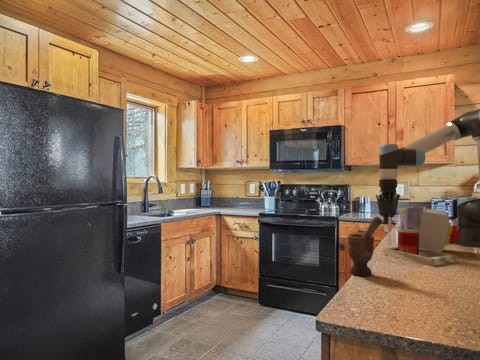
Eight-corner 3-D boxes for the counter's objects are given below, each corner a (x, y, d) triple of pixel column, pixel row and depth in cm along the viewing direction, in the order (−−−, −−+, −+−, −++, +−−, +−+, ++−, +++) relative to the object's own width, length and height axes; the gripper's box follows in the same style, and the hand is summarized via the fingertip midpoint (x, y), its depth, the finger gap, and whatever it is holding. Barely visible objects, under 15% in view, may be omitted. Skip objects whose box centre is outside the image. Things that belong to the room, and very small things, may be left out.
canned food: (422, 258, 142) (422, 231, 142) (401, 257, 143) (401, 231, 143) (415, 254, 149) (414, 228, 149) (395, 254, 150) (395, 228, 150)
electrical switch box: (454, 261, 145) (463, 214, 144) (415, 252, 153) (422, 207, 151) (455, 255, 158) (462, 211, 156) (418, 247, 165) (425, 205, 164)
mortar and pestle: (386, 274, 118) (386, 215, 118) (380, 280, 111) (380, 217, 111) (351, 269, 125) (351, 213, 125) (344, 275, 117) (344, 215, 117)
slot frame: (407, 251, 155) (407, 245, 155) (456, 261, 136) (456, 254, 136) (383, 254, 149) (383, 248, 149) (431, 266, 129) (431, 258, 129)
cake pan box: (420, 237, 194) (420, 205, 194) (429, 238, 190) (429, 206, 190) (399, 240, 184) (399, 207, 184) (408, 242, 180) (408, 207, 180)
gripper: (391, 178, 162) (391, 229, 162) (370, 178, 156) (370, 231, 156) (405, 178, 155) (405, 232, 155) (384, 178, 150) (383, 233, 150)
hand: (387, 231), depth 156 cm, fingers closed
